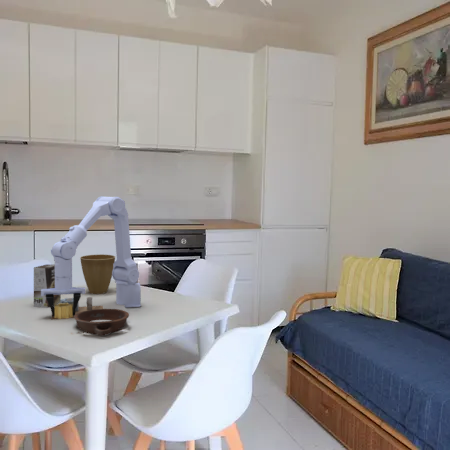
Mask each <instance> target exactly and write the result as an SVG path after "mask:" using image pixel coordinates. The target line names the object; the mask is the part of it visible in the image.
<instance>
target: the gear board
mask: <svg viewBox="0 0 450 450" xmlns="http://www.w3.org/2000/svg"><path fill="white" fill-rule="evenodd" d="M66 298H67V301H72V298H73V297H66ZM95 309H104V306H103V305H93V297H91V296H89V297H88V296H87V297H86V306H78V311H75V314H77V313H79V312H82V311H88V310H95ZM74 316H75V315H73V317H69V318H62V319H61V320H65V319H67V320H68V319H74ZM50 317H51V318H50V319H51V320H60V319H59V318H54V316H52V315H51V316H50Z"/></svg>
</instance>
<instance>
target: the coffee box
mask: <svg viewBox="0 0 450 450" xmlns="http://www.w3.org/2000/svg"><path fill="white" fill-rule="evenodd" d="M51 288H55V264H43V265H38V266H35V267H33V307H35V308H48V309H49V308H50V306H49V303H48V301H47V300H46V295H45V296H41V289H51ZM61 296H62V295H54V305H55V304H59V303H61V299H62V298H61Z"/></svg>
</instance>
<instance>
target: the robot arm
mask: <svg viewBox="0 0 450 450" xmlns="http://www.w3.org/2000/svg"><path fill="white" fill-rule="evenodd" d="M104 216H108V217H109V218H111V219H112V220H113V224H114V227H113V228H114V240H115V250H116V251H115V252H116V254H115V255H116V259H115V262H114V264H113V271H112V279H113V280H114V282H115V283H116V284H115V289H116V290H115V293H116V294H115V296H116V297H115V298H116V300H115V303H116V304H117V305H121V306H124V308H125V309H126V308H138V307H139V308H141V307H142V305H141V301H142V298H141V297H142V294H141V291H142V290H141V288H142V287H141V283H140V282H138V280H139V278H140V270H138V269H139V268H138V267H137V263H136V262H135V260H133V258H132V253H131V252H132V250H131V249H132V248H131V237H130V236H131V234H130V222H129V213H128V210H127V208H126V202H125V200H124V199H123V198H121V197H119V196H104V195H101V196H98V197H97V198H96V199H95V201H93V202H92V207H91V208H90V209H89V211H88V212H87V213H86V215H85V216H84V217H83V219H82V220H81V221H80V223H79V224H76V225H75V224H74V225H73V226H70V227H69V228H68V229H69V231H68V232H66V234H65V235H64V236H62V237H61V238H60V241H57V242H55V243H54V244H53V246H52V248H51V249H50V254H51V256H53V261H54V265H55V288H51V289H41V296H45V295H46V300H47V301H48V303H49V306H50V307H49V308H50V311H51V317H52V316H54V295H61V296H62V295H73V296H72V298H73V315H75V311H76V307H77V304H78V305H79V302H80V299H81V296H82V295H85V294H86V287H76V286H75V287H74V286H73V258H74V257H75V255H76V254H77V253H76V252H77V249H78V246H80V244H81V243H82V242H83V240H85V238H86V237H87V235H88V233H87V231H88V230H89V229H90V228H91V227H92V226H93V225H94V224H95V222H97V221H98V220H99V219H100V218H101V217H104Z"/></svg>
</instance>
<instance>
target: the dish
mask: <svg viewBox="0 0 450 450" xmlns="http://www.w3.org/2000/svg"><path fill="white" fill-rule="evenodd" d="M129 313H130V312H128V311H125V310H124V309H117V308H103V309H95V310H88V311H82V312H79V313H77V314H75V316H74V318H73V319H74V320H75V321H76V325H77V328H78V329H79V330H81V331H83V333H86V334H89V335H95V336H97V335H98V336H100V337H103V336H108V335H111V334H115V333H117V332H120V331H121V330H122V328H124V327H125V325H126V323H127V320H128V318H129V316H130V314H129Z"/></svg>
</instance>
